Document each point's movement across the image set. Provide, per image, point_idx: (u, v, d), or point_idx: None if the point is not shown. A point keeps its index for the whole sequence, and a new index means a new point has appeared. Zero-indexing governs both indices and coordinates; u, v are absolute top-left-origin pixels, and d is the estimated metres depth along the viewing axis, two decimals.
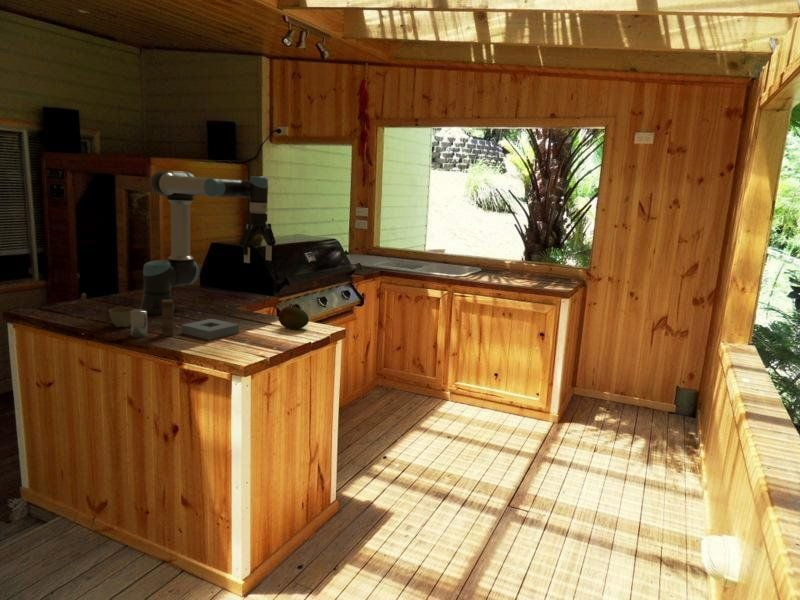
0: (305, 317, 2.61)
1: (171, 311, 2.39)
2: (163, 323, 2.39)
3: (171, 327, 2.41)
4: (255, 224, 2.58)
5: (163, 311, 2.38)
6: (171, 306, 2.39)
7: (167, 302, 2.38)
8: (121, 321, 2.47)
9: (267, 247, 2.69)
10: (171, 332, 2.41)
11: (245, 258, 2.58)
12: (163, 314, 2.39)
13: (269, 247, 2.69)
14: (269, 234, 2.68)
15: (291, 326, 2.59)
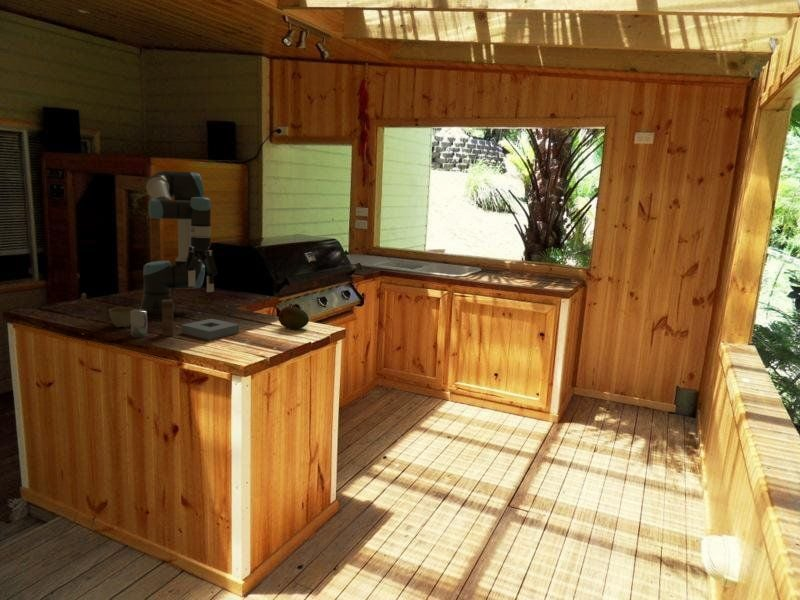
0: (305, 317, 2.61)
1: (171, 311, 2.39)
2: (163, 323, 2.39)
3: (171, 327, 2.41)
4: (194, 248, 2.42)
5: (163, 311, 2.38)
6: (171, 306, 2.39)
7: (167, 302, 2.38)
8: (121, 321, 2.47)
9: None
10: (171, 332, 2.41)
11: None
12: (163, 314, 2.39)
13: None
14: None
15: (291, 326, 2.59)
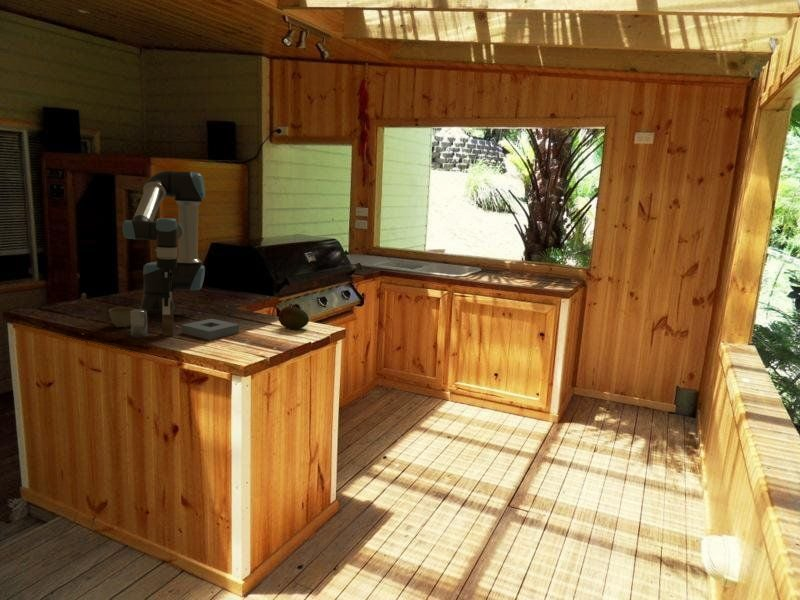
0: (305, 317, 2.61)
1: (171, 311, 2.39)
2: (163, 323, 2.39)
3: (171, 327, 2.41)
4: None
5: None
6: (171, 306, 2.39)
7: None
8: (121, 321, 2.47)
9: None
10: (171, 332, 2.41)
11: None
12: None
13: None
14: None
15: (291, 326, 2.59)
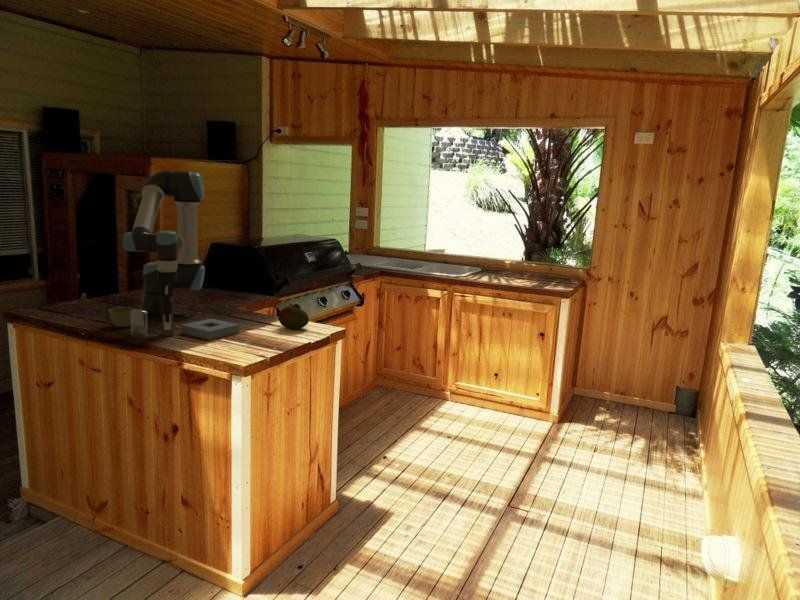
0: (305, 317, 2.61)
1: (171, 311, 2.39)
2: (163, 323, 2.39)
3: (171, 327, 2.41)
4: None
5: None
6: (171, 306, 2.39)
7: None
8: (121, 321, 2.47)
9: None
10: (171, 332, 2.41)
11: None
12: (163, 314, 2.39)
13: None
14: None
15: (291, 326, 2.59)
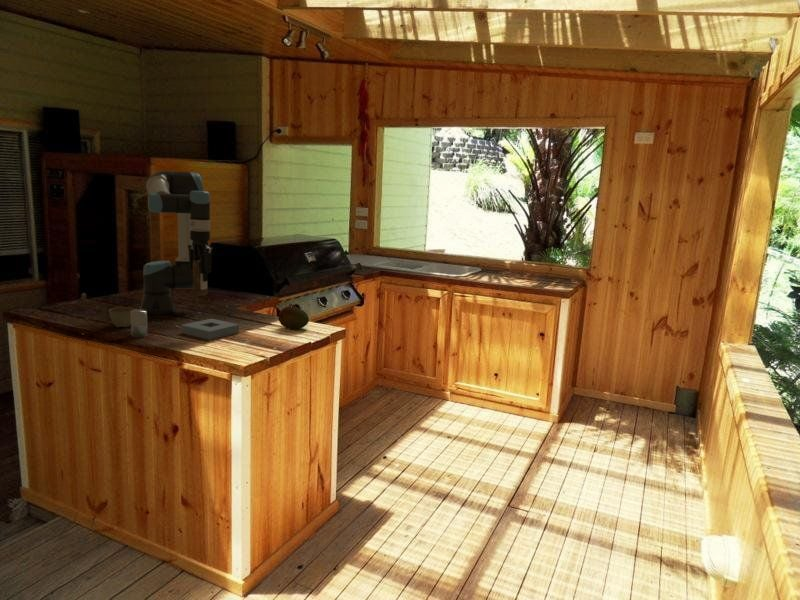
0: (305, 317, 2.61)
1: None
2: (199, 283, 2.41)
3: None
4: (192, 242, 2.42)
5: (200, 271, 2.40)
6: None
7: None
8: (121, 321, 2.47)
9: None
10: (206, 291, 2.44)
11: None
12: (199, 274, 2.40)
13: None
14: None
15: (291, 326, 2.59)
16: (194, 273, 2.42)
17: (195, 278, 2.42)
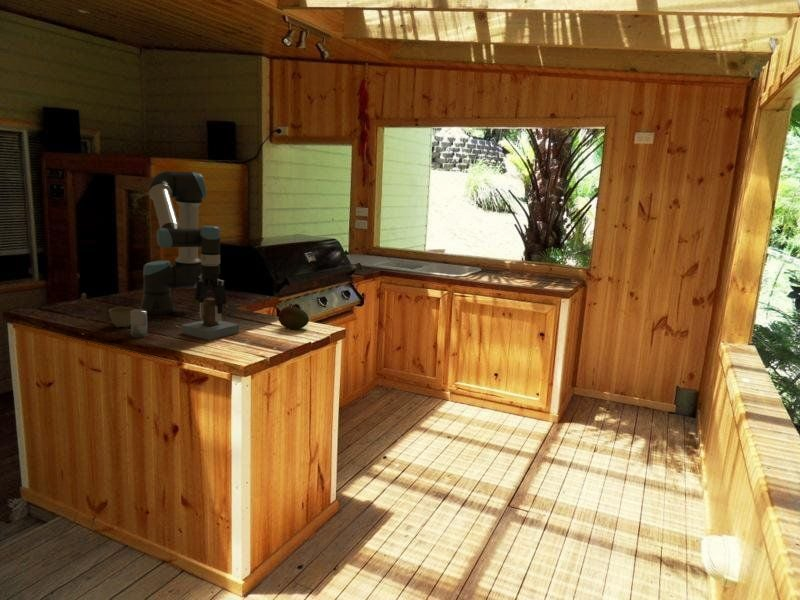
0: (305, 317, 2.61)
1: None
2: (211, 321, 2.46)
3: (216, 324, 2.49)
4: (202, 275, 2.45)
5: (211, 309, 2.45)
6: None
7: (214, 300, 2.46)
8: (121, 321, 2.47)
9: None
10: None
11: None
12: (211, 312, 2.45)
13: None
14: None
15: (291, 326, 2.59)
16: (205, 311, 2.46)
17: (206, 317, 2.46)
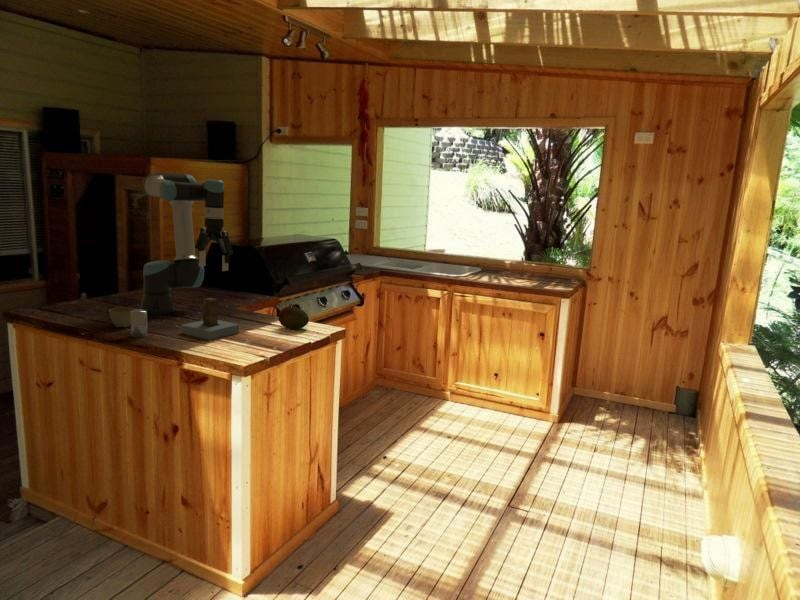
0: (305, 317, 2.61)
1: (216, 308, 2.48)
2: (211, 321, 2.46)
3: (216, 324, 2.49)
4: (207, 229, 2.52)
5: (211, 309, 2.45)
6: (216, 303, 2.47)
7: (214, 300, 2.46)
8: (121, 321, 2.47)
9: None
10: None
11: None
12: (210, 312, 2.45)
13: None
14: None
15: (291, 326, 2.59)
16: (205, 311, 2.46)
17: (205, 317, 2.46)
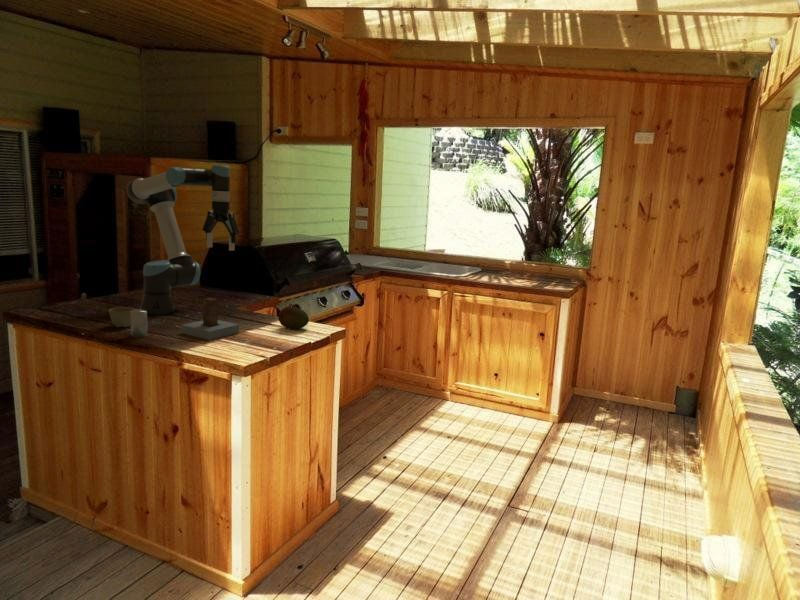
0: (305, 317, 2.61)
1: (216, 308, 2.48)
2: (211, 321, 2.46)
3: (216, 324, 2.49)
4: (214, 211, 2.68)
5: (211, 309, 2.45)
6: (216, 303, 2.47)
7: (214, 300, 2.46)
8: (121, 321, 2.47)
9: None
10: None
11: None
12: (210, 312, 2.45)
13: None
14: None
15: (291, 326, 2.59)
16: (205, 311, 2.46)
17: (205, 317, 2.46)
